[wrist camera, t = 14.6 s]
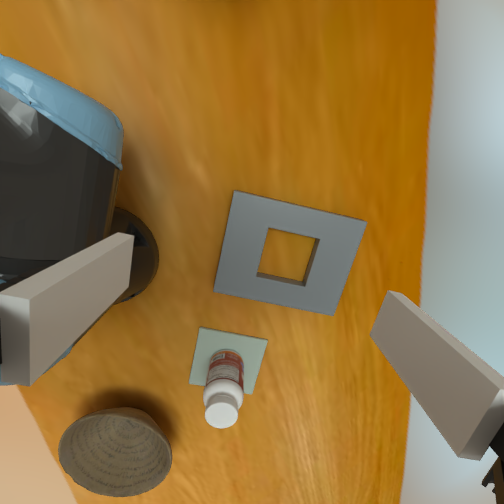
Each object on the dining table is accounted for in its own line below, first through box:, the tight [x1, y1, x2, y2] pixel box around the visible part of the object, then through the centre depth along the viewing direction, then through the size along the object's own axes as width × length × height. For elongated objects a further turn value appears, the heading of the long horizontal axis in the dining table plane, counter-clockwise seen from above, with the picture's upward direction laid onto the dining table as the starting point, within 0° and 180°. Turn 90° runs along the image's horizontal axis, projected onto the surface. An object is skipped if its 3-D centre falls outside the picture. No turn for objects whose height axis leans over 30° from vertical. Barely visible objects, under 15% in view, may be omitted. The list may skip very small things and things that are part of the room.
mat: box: [189, 327, 268, 394], centre depth 49 cm, size 12×12×1 cm
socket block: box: [213, 190, 367, 316], centre depth 43 cm, size 20×16×2 cm
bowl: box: [58, 407, 172, 497], centre depth 49 cm, size 18×18×8 cm
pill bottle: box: [203, 350, 244, 428], centre depth 44 cm, size 6×6×11 cm
